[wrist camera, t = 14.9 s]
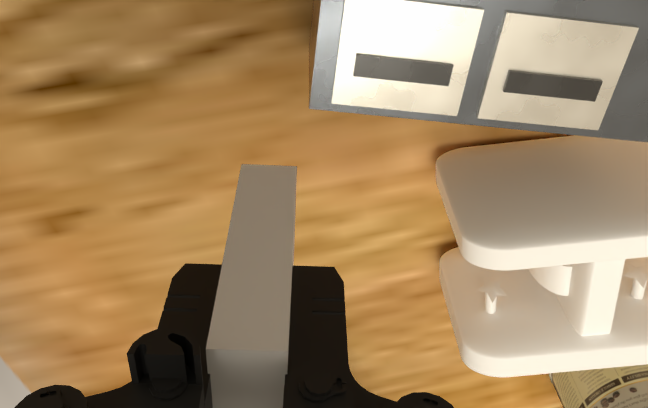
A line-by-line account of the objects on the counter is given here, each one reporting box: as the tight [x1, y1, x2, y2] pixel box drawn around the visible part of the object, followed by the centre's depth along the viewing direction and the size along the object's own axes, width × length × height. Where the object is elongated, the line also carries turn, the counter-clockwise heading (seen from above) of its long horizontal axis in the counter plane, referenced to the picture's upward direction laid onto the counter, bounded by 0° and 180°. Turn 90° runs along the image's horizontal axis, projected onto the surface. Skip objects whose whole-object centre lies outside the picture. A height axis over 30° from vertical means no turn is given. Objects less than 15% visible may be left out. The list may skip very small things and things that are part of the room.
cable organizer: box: [436, 135, 648, 377], centre depth 38 cm, size 15×11×12 cm
